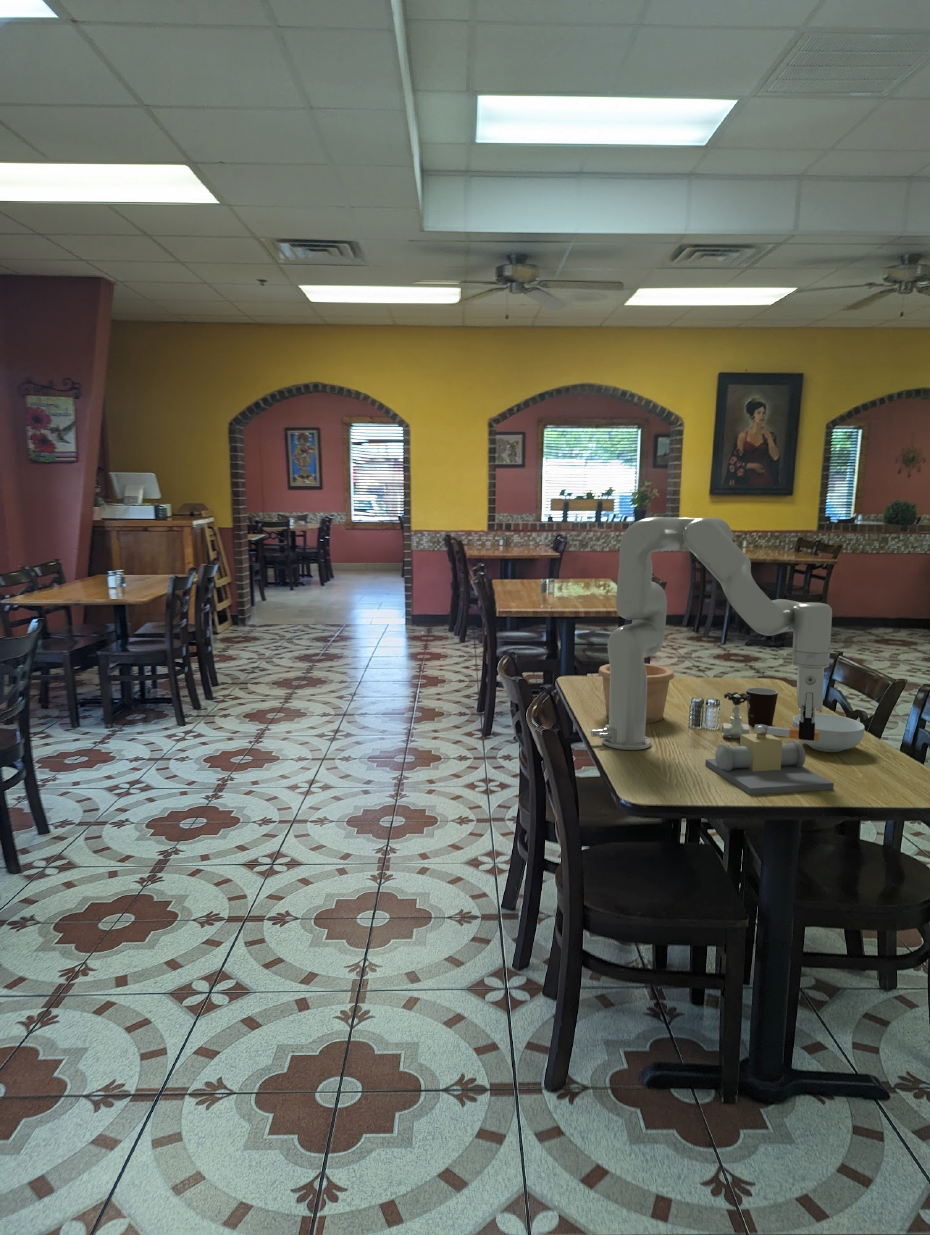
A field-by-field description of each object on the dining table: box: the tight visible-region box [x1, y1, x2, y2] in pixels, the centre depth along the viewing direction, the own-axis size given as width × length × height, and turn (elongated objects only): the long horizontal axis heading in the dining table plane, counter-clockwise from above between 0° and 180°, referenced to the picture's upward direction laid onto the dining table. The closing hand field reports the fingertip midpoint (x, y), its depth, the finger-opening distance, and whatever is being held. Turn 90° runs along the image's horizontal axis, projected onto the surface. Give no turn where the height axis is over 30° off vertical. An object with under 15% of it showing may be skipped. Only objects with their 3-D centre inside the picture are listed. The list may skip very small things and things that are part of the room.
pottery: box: [598, 663, 675, 724], centre depth 229 cm, size 22×22×14 cm
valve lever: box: [753, 724, 819, 741], centre depth 176 cm, size 14×3×2 cm, turn 65°
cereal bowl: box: [791, 712, 866, 753], centre depth 199 cm, size 17×17×7 cm
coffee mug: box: [745, 687, 779, 728], centre depth 221 cm, size 12×9×10 cm
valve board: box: [704, 733, 835, 796], centre depth 176 cm, size 20×20×9 cm
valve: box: [721, 691, 750, 739], centre depth 207 cm, size 7×7×12 cm
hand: (806, 738), depth 172 cm, fingers closed
